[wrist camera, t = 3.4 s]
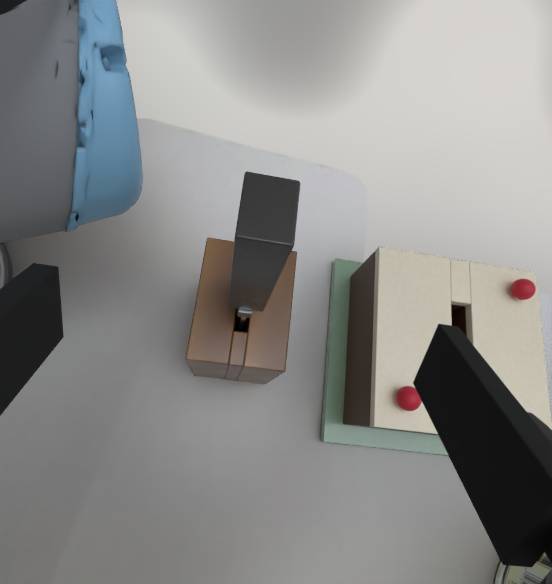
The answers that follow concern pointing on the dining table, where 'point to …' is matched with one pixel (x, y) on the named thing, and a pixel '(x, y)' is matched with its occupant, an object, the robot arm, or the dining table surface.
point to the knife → (261, 241)
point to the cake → (422, 325)
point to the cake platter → (335, 381)
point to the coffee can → (523, 572)
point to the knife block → (222, 323)
